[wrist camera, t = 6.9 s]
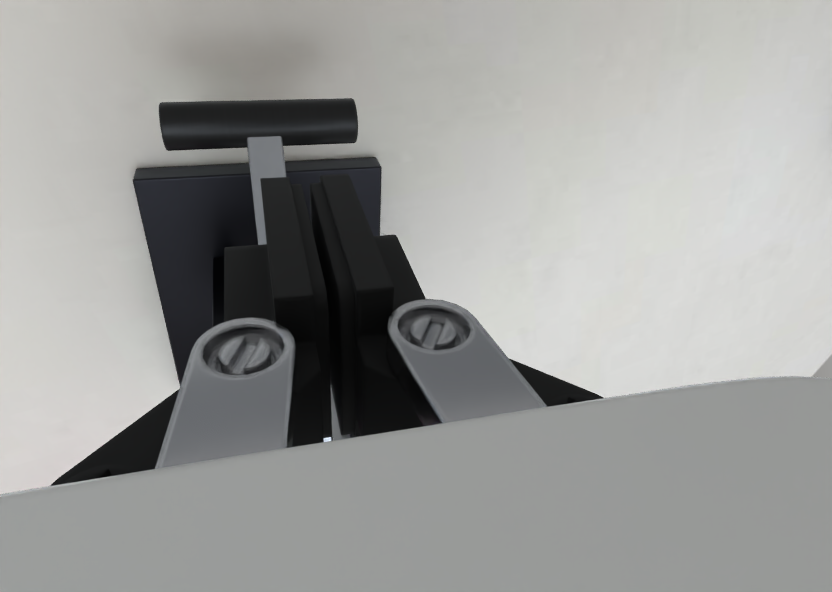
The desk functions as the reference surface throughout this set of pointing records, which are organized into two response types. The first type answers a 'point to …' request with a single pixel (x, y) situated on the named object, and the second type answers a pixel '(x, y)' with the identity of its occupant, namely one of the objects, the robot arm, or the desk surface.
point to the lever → (258, 133)
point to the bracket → (220, 235)
